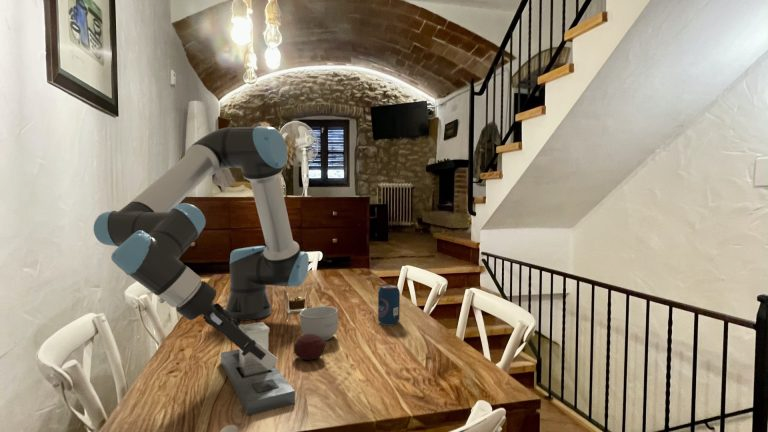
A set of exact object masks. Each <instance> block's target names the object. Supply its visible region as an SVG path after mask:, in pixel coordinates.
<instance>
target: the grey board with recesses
mask: <svg viewBox="0 0 768 432" xmlns="http://www.w3.org/2000/svg"><path fill="white" fill-rule="evenodd" d="M220 363H221V366H222V368H223V370H224V372H225V373H226V376H227V378H228V379H229V381H230V384H231V386H232V387H233V390H234V392H235V393H236V396H237V397H238V399H239V402H240V404H241V405H242V408H243V409H244V411H245V413H246V415H247V416H251V415H256V414H259V413H263V412H267V411H271V410H274V409H278V408H282V407H287V406H289V405H295V403H296V391H295V389H294V388H293V386H291V384H290V382H289V381H287V379H286V378H285V377H284V376H283V374H282V373H281V372H280V371H279V369H278V368H277V367H276V365H275V364H274V365H273V367H272V368H271V369H270V370H268V373H265V374H261V375H256V376H251V377H247V378H241V376H240V363H239V348H238V349H235V350H234V349H233V350H229V351H221V352H220Z"/></svg>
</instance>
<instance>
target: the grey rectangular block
mask: <svg viewBox="0 0 768 432" xmlns="http://www.w3.org/2000/svg"><path fill="white" fill-rule="evenodd" d="M238 327H239V328H240V329H241V330H242V331H243V332H244V333H245V334H247V335H248V336H249V337H250V338H251V339H252V340H254V341H256V342H258V343H259V344H260V345H261V346H263V347H264V348H265V349H266V350H268V351H269V333H270V327H269V326H267V325H266V323H264V322H263V321H261V322H260V321H259V322H253V323H247V324H242V325H240V324H239V326H238ZM248 343H249V342H248ZM248 343H247V344H248ZM247 344H246V345H247ZM246 345H245V346H246ZM245 346H244V347H245ZM238 349H239V363H240V376H241V378H247V377H251V376H256V375H261V374H265V373H268V369H267V368H266V367H264V366H263V365H262V364H260V363H259V362H258V361H256V360H255V359H254V358H253V357H251V356H250V355H249V354H246V355H245V356H243V355H242V353H243V351H242V350H241V349H240V348H239V347H238Z"/></svg>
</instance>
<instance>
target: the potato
mask: <svg viewBox="0 0 768 432" xmlns="http://www.w3.org/2000/svg"><path fill="white" fill-rule="evenodd" d="M293 347H294V348H293V353H294V354H295V356H297V357H298V358H300V359H303V360H315V359H317V358H320V357H322V356H323V354H324V353H325V349H326V342H325V340H323V339H322V338H321V337H320V336H318V335H314V334H305V335H303V334H302V335H300V336H299V337H298V338H297V339H296V340H295V343H294V345H293Z"/></svg>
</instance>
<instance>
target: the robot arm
mask: <svg viewBox="0 0 768 432" xmlns="http://www.w3.org/2000/svg"><path fill="white" fill-rule="evenodd" d="M287 154H288V147H287V143H286V141H285V138H284V136H283V135H282V133H281V132H280V131H279V130H277V129H276V127H272V126H262V125H257V126H241V127H223V128H219V129H216V130H214V131H211V132H210V133H207V134H206V135H205V136H203V137H201V138H199V139H198V140H197V141H195V142H194V143H193V144H191V145H190V146H189V147H188V148H187V149H186V151H185V156H183V157H182V158H181V159H180V160H179V161H177V162H176V163H175V164H174V165H173V166H171V167H170V168H169V169H168V170H167V171H165V172H164V173H163V174H162V175H161V176H159V177H158V178H157V179H155V181H154V182H153V183H151V184H150V185H149V186H148V187H147V188H145V189H144V190H143V191H142V192H140V193H139V194H138V195H137V196H135V198H132V200H131V201H130V202H128V203H127V204H126V205H125V206H124V207H122V208H121V209H120V210H118V211H117V210H111V211H105V212H103V213H101V214H98V216H97V217H96V219H95V221H94V224H93V234H94V236H95V238H96V239H97V241H98V242H100V243H101V244H103V245H106V246H111V247H112V246H113V247H116V249H115V250H114V251H113V252H112V253H111V256H110V257H111V261H112V262H113V263H114V265H116V266H117V267H118V268H119V269H120V270H121V271H123V272H124V273H125V274H126V275H127V276H130V277H131V278H132V279H133V280H134V281H137V282H138V283H139V284H140V285H142V286H143V287H144V288H146V290H148V291H150V292H151V293H152V294H154V295H155V296H157V297H158V298H159V299H158V301H159V303H160V304H163V303H166V304H167V305H169V306H170V307H171V308H175V309H176V312H178V314H180V315H182V316H183V317H184V318H185V319H187V320H189V321H193V320H195V319H197V318H198V317H199V316H201V315H202V318H203V319H204V322H205V323H207V325H209V326H211V327H213V328H214V329H215V330H216V331H218V332H219V333H221V334H222V336H224V337H226V338H227V339H228V340H229V341H230V342H231V343H233V344H234V345H235V346H236V347H238V349H239V348H240V349H241V350H242V351H243V353H242V355H243V356H245V355H246V354H249V355H250V356H251V357H253V358H254V359H255V360H256V361H258V362H259V363H260V364H262V365H263V366H264V367H266V368H267V369H268V370H270V369H271V368H272V367H273V365H274V366H275V364H276V363H277V362H278V361H279V359H278V357H276V356H275V355H274V354H273V353H271V352H270V351H269V349H268V350H266V349H265V348H264V347H263V346H261V345H260V344H259V343H258V342H256V341H254V340H252V339H251V338H250V337H249V336H248V335H247V334H245V333H244V332H243V331H242V330H241V329H240V328H239V327H238V326H239V325H243V324H242V322H243V321H249V320H250V321H251V320H258V319H263V318H264V317H267V316H269V315H271V314H272V305H271V302H270V299H269V296H268V293H267V286H274V287H275V286H277V287H288V288H291V287H300V286H301V285H302V284H303V283H304V282H305V279H306V278H307V275H308V271H309V265H310V264H309V263H310V258H309V255H308V253H307V252H305V251H301V249H300V245H299V243H298V242H297V241H295V240H294V239H293V233H292V229H291V224H290V218H289V216H288V211H287V205H286V200H285V196H284V190H283V187H282V181H281V177H280V175H281V174H282V172H283V170H284V167H285V166H286V164H287V161H288V155H287ZM231 168H233V169H241V172H242V176H243V178H244V179H245V180H247V181H249V184H250V186H251V189H252V194H253V199H254V202H255V206H256V210H257V214H258V218H259V223H260V226H261V231H262V233H263V234H262V235H263V238H264V241H265V245H256V246H249V247H248V246H247V247H243V248H241V247H240V248H237V249H234V250H232V251H231V252H230V254H229V255H230V258H229V285H230V286H229V287H230V293H229V296H228V299H227V302H226V305H225V307H223V306H222V305H220V303H218V302H216V303H215V302H213V301H214V300H215V298H216V297H217V290H216V288H214V287H212V286H211V285H210V283H207V282H206V281H205V280H204V281H203V280H202V277H200V276H199V275H198V274H197V273H196V272H194V270H192V269H191V268H190V267H188V266H187V265H185V264H184V263H183V262H182V261H181V260H180V258H181V257H182V255H183V254H184V253H186V251H187V249H188V248H189V247H190V246H191V245H192V244H193V243H194V242H195V240H196V239H198V238H199V236H200V234H201V232H203V230H204V228H205V226H206V217H205V214H203V212H202V210H200V209H199V208H198V207H197V206H195V205H194V204H190V203H187V202H183V203H182V201H183V200H184V199H186V197H188V196H189V195H190V193H192V192H193V191H194V189H197V187H198V186H199V185H200V184H201V183H202V182H203V181H204V180H205V179H206V178H207V177H210V176H214V175H216V174H217V173H218V172H219V171H220V170H225V169H231ZM248 342H249V343H248ZM247 343H248V344H247ZM246 344H247V345H246ZM245 345H246V346H245ZM244 346H245V347H244Z"/></svg>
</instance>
